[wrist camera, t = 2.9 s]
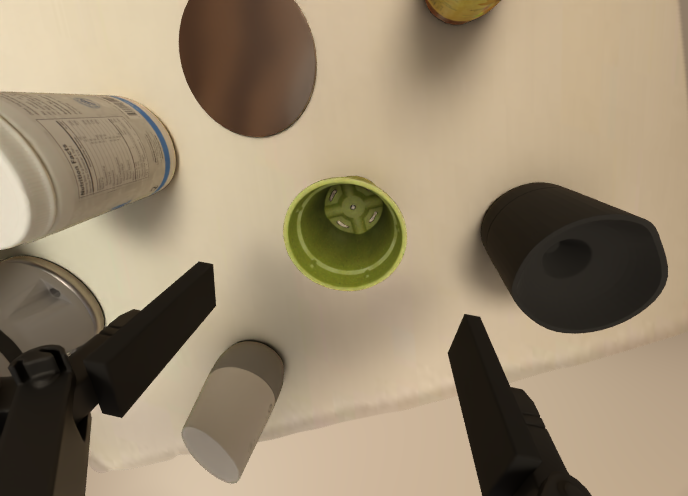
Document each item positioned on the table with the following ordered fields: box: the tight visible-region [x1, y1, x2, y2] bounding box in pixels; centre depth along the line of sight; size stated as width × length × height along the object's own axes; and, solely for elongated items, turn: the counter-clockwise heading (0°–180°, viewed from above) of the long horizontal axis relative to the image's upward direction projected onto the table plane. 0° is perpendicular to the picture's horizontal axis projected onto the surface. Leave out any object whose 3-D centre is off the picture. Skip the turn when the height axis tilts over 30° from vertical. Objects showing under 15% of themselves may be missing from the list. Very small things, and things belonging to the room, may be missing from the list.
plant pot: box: [283, 176, 407, 291], centre depth 26 cm, size 9×9×9 cm
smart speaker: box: [182, 341, 284, 483], centre depth 36 cm, size 10×9×14 cm
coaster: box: [179, 0, 317, 137], centre depth 25 cm, size 12×12×1 cm
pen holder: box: [481, 183, 668, 333], centre depth 24 cm, size 9×9×10 cm
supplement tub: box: [0, 92, 176, 250], centre depth 24 cm, size 10×10×15 cm
